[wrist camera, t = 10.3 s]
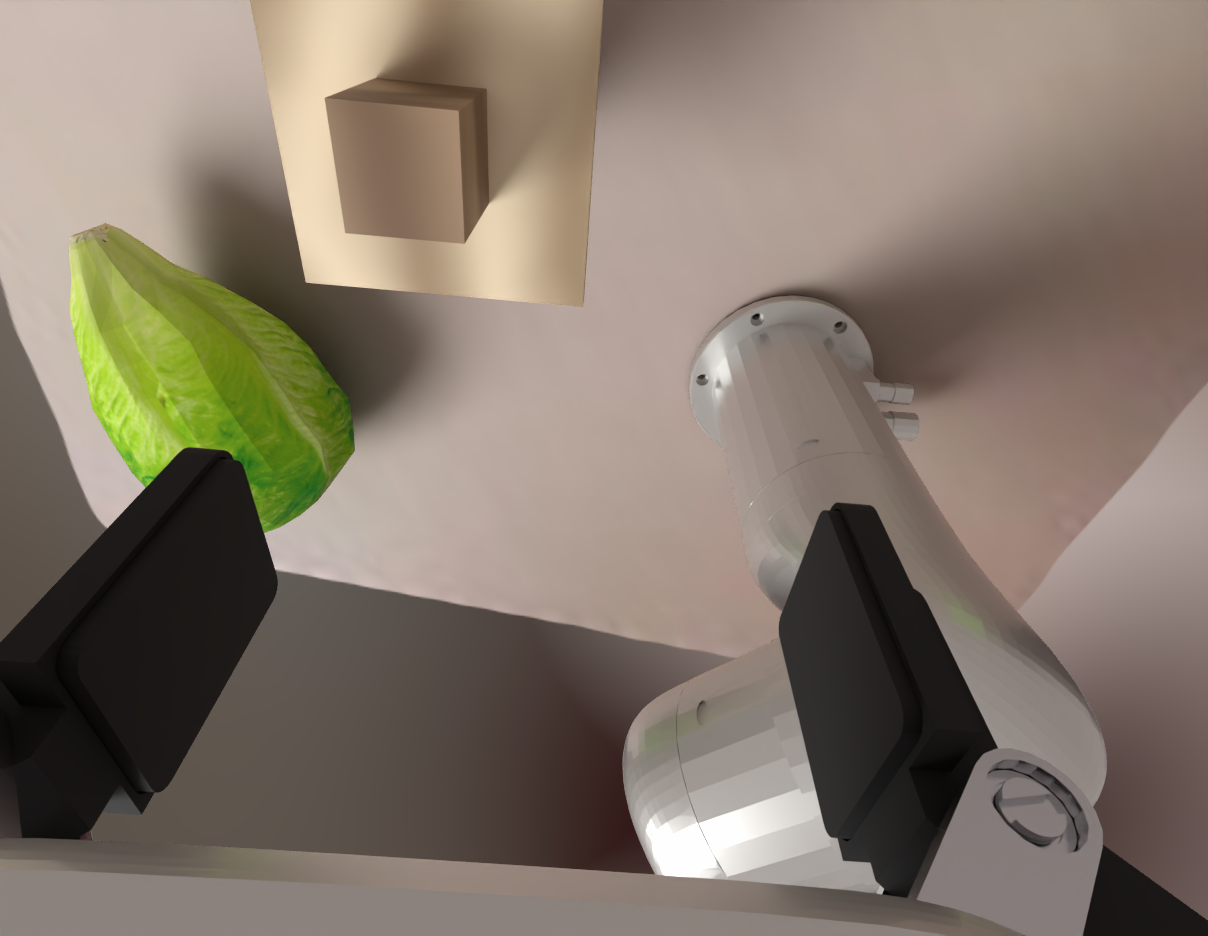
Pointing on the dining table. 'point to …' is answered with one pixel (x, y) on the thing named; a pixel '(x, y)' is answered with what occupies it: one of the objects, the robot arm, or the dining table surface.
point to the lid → (437, 141)
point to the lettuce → (202, 375)
